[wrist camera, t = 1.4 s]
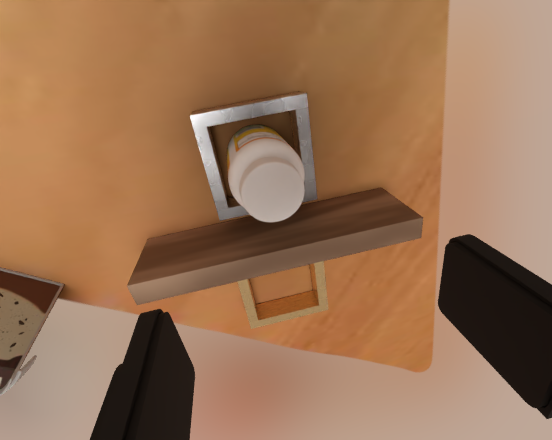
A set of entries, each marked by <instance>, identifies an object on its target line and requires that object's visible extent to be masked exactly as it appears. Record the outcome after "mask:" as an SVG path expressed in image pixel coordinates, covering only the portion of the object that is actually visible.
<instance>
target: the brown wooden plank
mask: <svg viewBox="0 0 552 440" xmlns="http://www.w3.org/2000/svg"><path fill="white" fill-rule="evenodd" d="M422 225H423V217H422V216H420V215H419V214H418V213H416V212H415V211H413V210H412V209H411V208H409V207H408V206H406V205H405V204H404V203H402V202H401V201H400V200H398V199H397V198H395V197H394V196H393V195H391V194H390V193H388V192H387V191H386V190H384V189H383V188H377V189H373V190H368V191H364V192H359V193H355V194H350V195H346V196H341V197H337V198H332V199H328V200H323V201H318V202H314V203H309V204H305V205H300V207H299V208H298V210H297V211H296V212H295V213H294V214H292V215H291V216H290V217H288V218H286V219H284V220H282V221H278V222H263V221H260V220H258V219H256V218H254V217H253V216H250V217H246V218H241V219H237V220H232V221H228V222H223V223H219V224H214V225H210V226H205V227H201V228H196V229H192V230H187V231H183V232H178V233H173V234H169V235H164V236H160V237H155V238H151V239H148V240H147V242H146V244H145V246H144V249H143V251H142V253H141V255H140V258H139V260H138V262H137V264H136V267H135V269H134V271H133V273H132V276H131V278H130V280H129V282H128V285H127V287H128V289H129V291H130V293H131V295H132V297H133V298H134V300H135V302H136V304H137V305H140V304H144V303H148V302H153V301H157V300H161V299H165V298H170V297H174V296H178V295H182V294H186V293H191V292H195V291H199V290H203V289H208V288H212V287H216V286H220V285H225V284H229V283H233V282H237V281H241V280H246V279H250V278H254V277H258V276H263V275H267V274H271V273H275V272H279V271H284V270H288V269H292V268H296V267H301V266H305V265H309V264H313V263H318V262H322V261H326V260H330V259H334V258H339V257H343V256H347V255H351V254H356V253H360V252H364V251H368V250H372V249H377V248H381V247H385V246H389V245H394V244H398V243H402V242H406V241H411V240H415V239H419V238H421V235H422Z"/></svg>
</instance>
